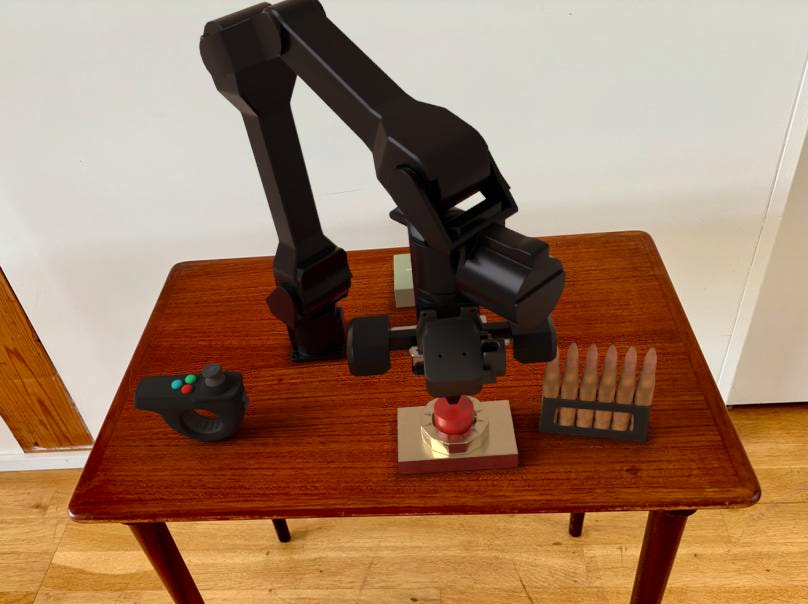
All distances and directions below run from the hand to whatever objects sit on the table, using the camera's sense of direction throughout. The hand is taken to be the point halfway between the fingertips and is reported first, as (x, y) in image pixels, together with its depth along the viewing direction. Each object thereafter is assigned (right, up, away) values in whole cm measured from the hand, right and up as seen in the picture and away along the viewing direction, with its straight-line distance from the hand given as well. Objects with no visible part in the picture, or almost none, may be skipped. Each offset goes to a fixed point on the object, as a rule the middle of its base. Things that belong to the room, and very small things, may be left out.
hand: (453, 401), depth 71 cm
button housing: (+1, -5, +4) cm, 6 cm away
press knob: (0, -2, +2) cm, 3 cm away
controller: (-27, -4, +10) cm, 29 cm away
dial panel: (+1, +14, +25) cm, 29 cm away
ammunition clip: (+15, -3, +3) cm, 16 cm away
